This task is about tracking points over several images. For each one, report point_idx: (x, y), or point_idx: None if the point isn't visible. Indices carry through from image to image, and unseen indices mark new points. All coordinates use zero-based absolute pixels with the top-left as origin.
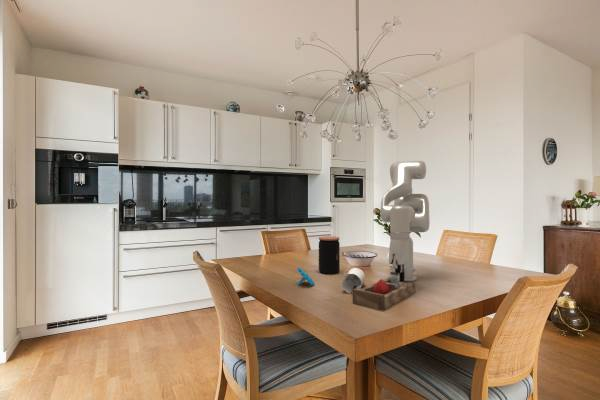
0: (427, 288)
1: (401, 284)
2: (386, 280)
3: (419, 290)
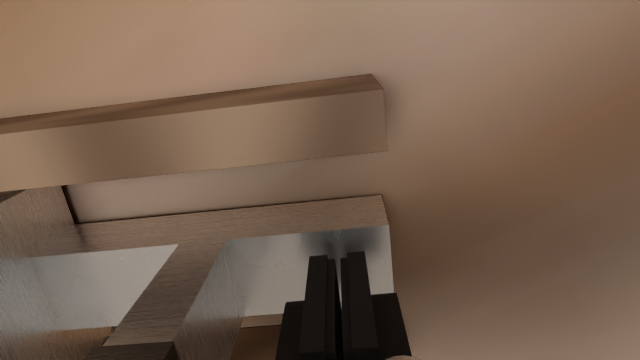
0: (619, 355)
1: (340, 291)
2: (228, 157)
3: (496, 338)
